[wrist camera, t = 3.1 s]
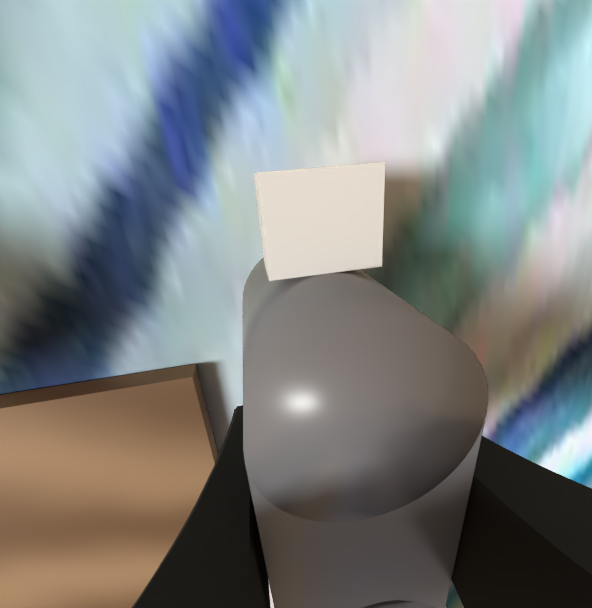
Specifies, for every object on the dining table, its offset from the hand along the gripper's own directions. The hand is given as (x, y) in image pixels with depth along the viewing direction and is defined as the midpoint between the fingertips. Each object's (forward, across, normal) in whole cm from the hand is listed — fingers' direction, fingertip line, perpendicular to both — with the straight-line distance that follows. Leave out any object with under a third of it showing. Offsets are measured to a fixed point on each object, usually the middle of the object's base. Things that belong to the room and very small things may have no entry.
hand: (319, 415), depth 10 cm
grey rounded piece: (+2, 0, -1) cm, 2 cm away
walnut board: (+2, +10, +5) cm, 11 cm away
